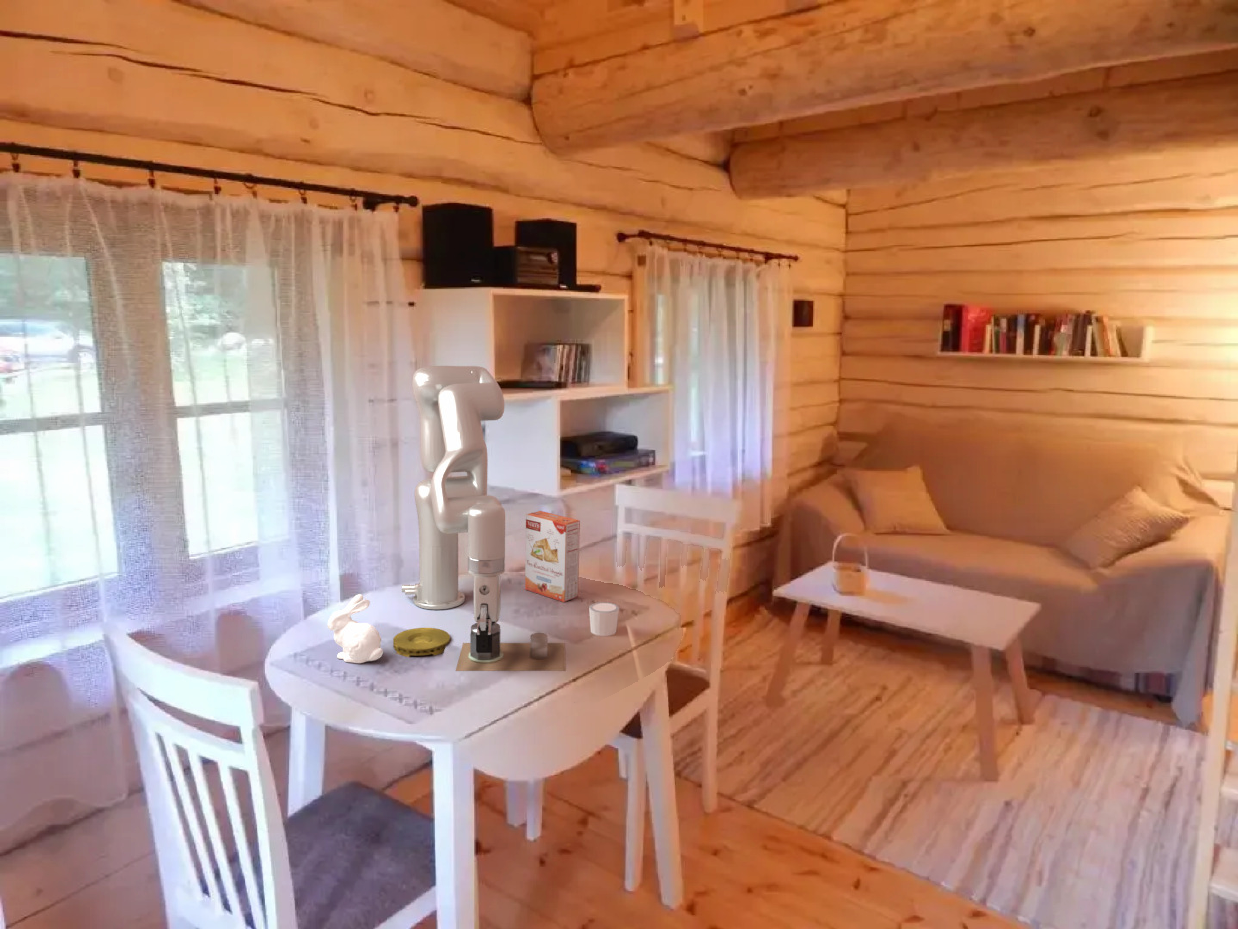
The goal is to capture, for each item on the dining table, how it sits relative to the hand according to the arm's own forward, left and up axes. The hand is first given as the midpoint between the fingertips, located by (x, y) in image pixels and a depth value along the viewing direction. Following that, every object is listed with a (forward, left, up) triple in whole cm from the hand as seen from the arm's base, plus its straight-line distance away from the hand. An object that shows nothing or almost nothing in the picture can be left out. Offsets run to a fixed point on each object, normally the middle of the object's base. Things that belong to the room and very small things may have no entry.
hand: (486, 642), depth 172 cm
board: (+6, 0, -4) cm, 7 cm away
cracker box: (+14, +42, -4) cm, 44 cm away
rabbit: (-27, +3, -4) cm, 28 cm away
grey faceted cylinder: (0, 0, -3) cm, 3 cm away
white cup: (+26, +14, -4) cm, 29 cm away
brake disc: (-14, +8, -5) cm, 17 cm away
